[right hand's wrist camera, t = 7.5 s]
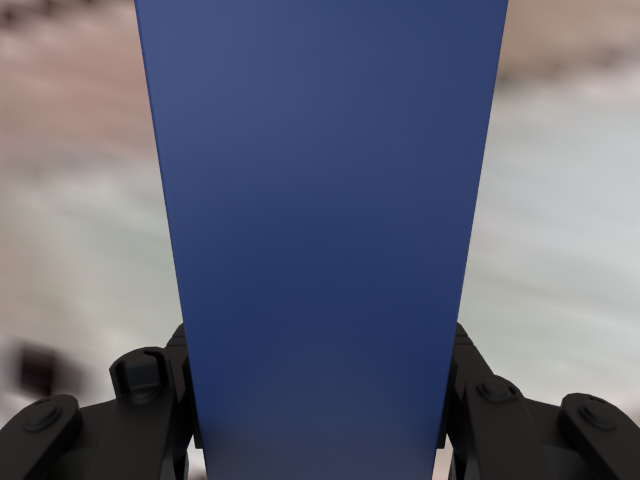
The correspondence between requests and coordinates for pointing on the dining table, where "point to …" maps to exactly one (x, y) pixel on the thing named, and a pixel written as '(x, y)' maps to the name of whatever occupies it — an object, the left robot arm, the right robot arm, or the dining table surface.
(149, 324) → the dining table surface
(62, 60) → the dining table surface
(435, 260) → the bar
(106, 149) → the dining table surface
